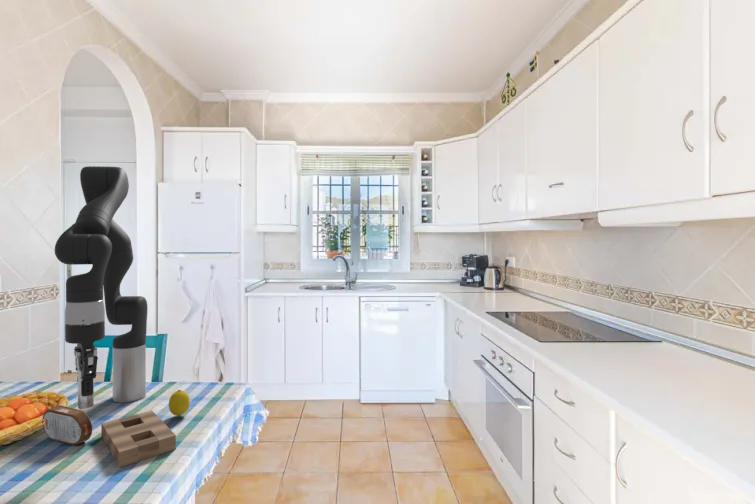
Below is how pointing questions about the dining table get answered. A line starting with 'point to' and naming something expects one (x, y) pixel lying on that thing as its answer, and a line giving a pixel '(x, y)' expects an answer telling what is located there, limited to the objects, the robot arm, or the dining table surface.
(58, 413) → the tin
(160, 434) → the hole block
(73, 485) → the dining table surface
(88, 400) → the peg
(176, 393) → the lemon
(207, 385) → the dining table surface
